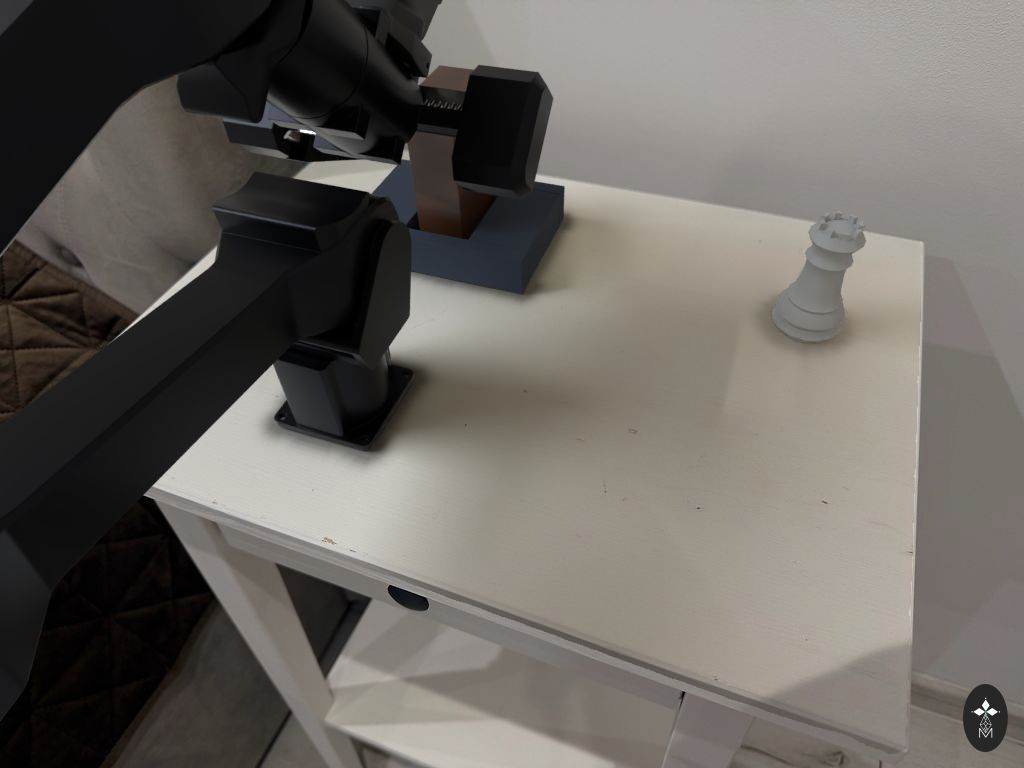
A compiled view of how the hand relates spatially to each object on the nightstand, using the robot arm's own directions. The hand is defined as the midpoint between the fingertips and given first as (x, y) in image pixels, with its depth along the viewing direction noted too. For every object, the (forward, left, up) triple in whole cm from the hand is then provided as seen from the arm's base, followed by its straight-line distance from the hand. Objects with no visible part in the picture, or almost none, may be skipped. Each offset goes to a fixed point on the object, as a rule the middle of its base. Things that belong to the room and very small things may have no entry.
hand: (435, 160), depth 47 cm
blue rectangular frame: (+3, 0, -8) cm, 8 cm away
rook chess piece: (0, -26, -8) cm, 27 cm away
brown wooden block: (+3, 0, -8) cm, 8 cm away
